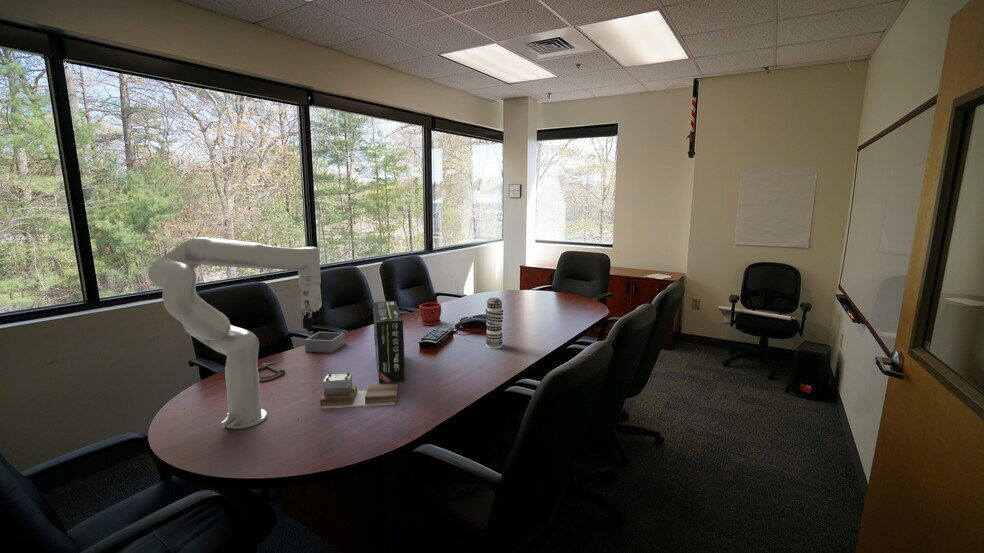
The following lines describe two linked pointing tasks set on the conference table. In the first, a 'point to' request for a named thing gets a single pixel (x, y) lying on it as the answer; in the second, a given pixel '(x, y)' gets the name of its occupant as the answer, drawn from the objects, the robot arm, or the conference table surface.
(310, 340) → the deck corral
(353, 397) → the stand
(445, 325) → the conference table surface
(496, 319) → the model tower
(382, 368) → the router box
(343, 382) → the housing
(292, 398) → the conference table surface
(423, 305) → the plant pot
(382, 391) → the stand
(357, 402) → the mat
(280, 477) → the conference table surface
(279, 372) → the c clamp
